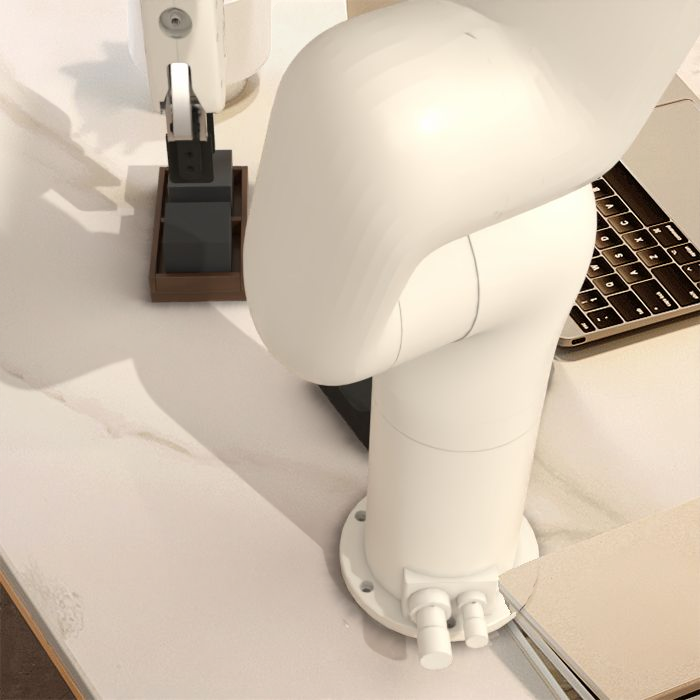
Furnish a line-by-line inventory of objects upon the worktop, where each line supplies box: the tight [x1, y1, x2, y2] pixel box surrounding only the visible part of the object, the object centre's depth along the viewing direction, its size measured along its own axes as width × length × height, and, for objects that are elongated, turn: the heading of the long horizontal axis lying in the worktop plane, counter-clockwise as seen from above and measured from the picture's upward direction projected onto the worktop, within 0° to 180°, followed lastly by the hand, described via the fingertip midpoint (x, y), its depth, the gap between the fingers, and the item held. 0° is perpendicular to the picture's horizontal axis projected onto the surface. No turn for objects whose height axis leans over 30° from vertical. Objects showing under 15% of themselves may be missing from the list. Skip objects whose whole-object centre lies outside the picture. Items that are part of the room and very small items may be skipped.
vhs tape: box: [317, 376, 373, 452], centre depth 92 cm, size 8×14×2 cm, turn 120°
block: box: [162, 202, 232, 273], centre depth 99 cm, size 5×5×4 cm
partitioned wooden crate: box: [148, 149, 250, 303], centre depth 102 cm, size 14×7×5 cm, turn 3°
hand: (192, 165), depth 94 cm, fingers closed
